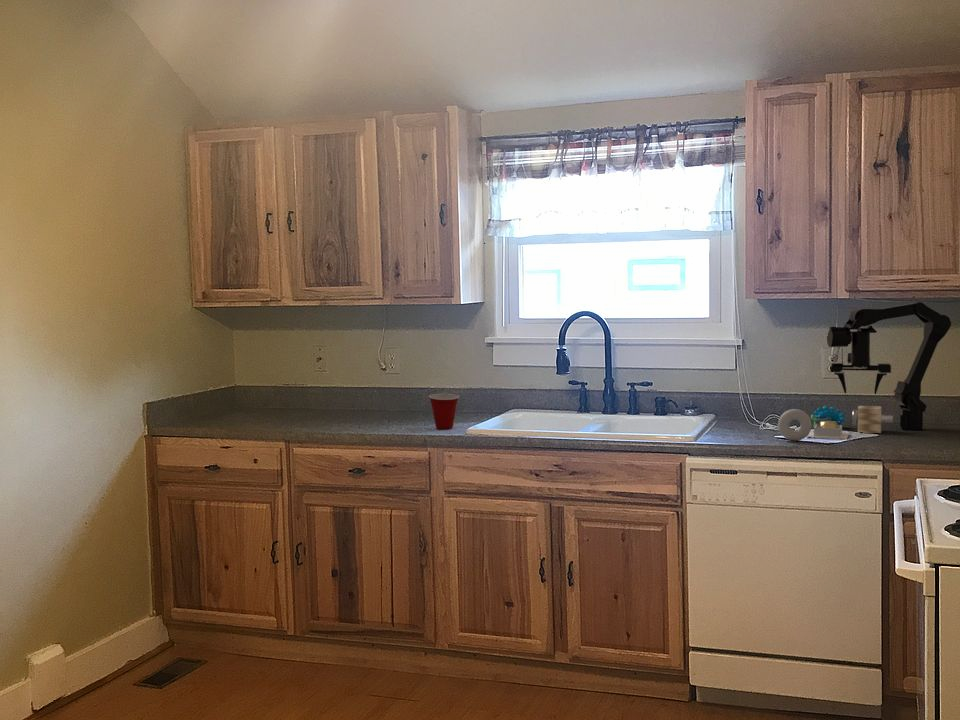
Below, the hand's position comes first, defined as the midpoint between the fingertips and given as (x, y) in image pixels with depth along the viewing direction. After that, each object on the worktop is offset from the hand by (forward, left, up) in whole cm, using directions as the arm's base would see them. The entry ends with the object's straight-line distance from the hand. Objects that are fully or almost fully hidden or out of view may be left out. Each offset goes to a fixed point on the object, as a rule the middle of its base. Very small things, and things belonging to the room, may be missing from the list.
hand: (860, 393), depth 331 cm
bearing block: (-3, +4, -12) cm, 13 cm away
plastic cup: (+136, +34, -12) cm, 141 cm away
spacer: (+9, +18, -11) cm, 23 cm away
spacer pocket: (+9, +18, -12) cm, 23 cm away
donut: (+18, +31, -12) cm, 38 cm away
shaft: (-4, +4, -10) cm, 11 cm away
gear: (+10, -4, -12) cm, 17 cm away
